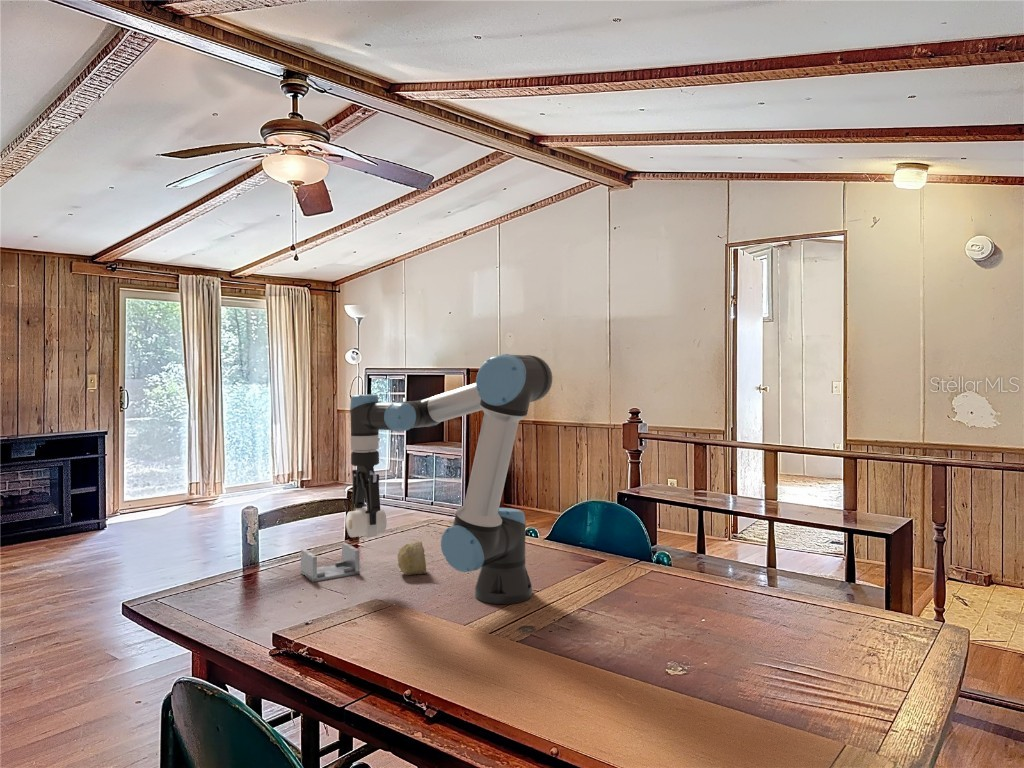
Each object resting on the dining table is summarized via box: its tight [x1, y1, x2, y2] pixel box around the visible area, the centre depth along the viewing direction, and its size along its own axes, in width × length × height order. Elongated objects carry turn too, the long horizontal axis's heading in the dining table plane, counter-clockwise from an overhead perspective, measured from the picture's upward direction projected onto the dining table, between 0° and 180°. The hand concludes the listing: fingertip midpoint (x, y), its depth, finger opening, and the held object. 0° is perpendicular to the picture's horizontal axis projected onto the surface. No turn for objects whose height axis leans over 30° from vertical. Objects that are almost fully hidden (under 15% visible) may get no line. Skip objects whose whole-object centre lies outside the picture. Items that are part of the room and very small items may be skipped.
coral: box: [397, 540, 428, 576], centre depth 207 cm, size 10×10×10 cm
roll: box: [345, 507, 388, 538], centre depth 195 cm, size 9×7×7 cm
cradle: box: [300, 542, 361, 583], centre depth 208 cm, size 14×11×7 cm
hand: (366, 533), depth 195 cm, fingers closed on roll, 7 cm apart
